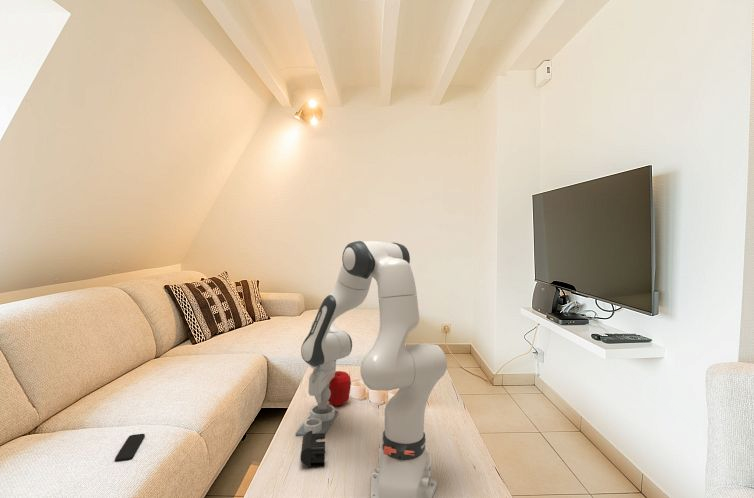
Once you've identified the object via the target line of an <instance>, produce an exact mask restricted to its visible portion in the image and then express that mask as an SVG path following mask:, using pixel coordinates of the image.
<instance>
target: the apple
mask: <svg viewBox="0 0 754 498" xmlns="http://www.w3.org/2000/svg"><path fill="white" fill-rule="evenodd" d="M351 380H352V379H351V376H350V375H349V374H348V372H346V371H342V370H338V371H337V370H336V371H335V376H334V378H333V379H332V380H331V381H330V384H329V389H330V392H331V395H330V398H329V400H328V402H329V404H330V405H332V406H333V407H339V406H342V405H344V404H345V403H346V402H348V401H349V399H350V394H351V387H352V382H351Z"/></svg>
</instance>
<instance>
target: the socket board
mask: <svg viewBox="0 0 754 498" xmlns="http://www.w3.org/2000/svg"><path fill="white" fill-rule="evenodd" d="M338 415H339V410H336V409H335V406H333V405H332V404H330V403H329V404H328V403H327V407H326V413H325V414H319V408H318V404H316V405H313V406H311V408H310V409H309V416H308V417H307V418H306V419H305V420H304V421H303V423H302V425H301V426H300V427H299V429H297V431H296V433H295V437H298V436H303V437H304V435H305V434H306V433H307V432H309V431H312V434H318V433H325V435H326V434H327V433H328V431H329V429H330V428H331V426H332V424H333V423H334V421H335V420H336V418H337V417H338ZM329 427H330V428H329ZM303 437H302V438H303Z"/></svg>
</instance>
